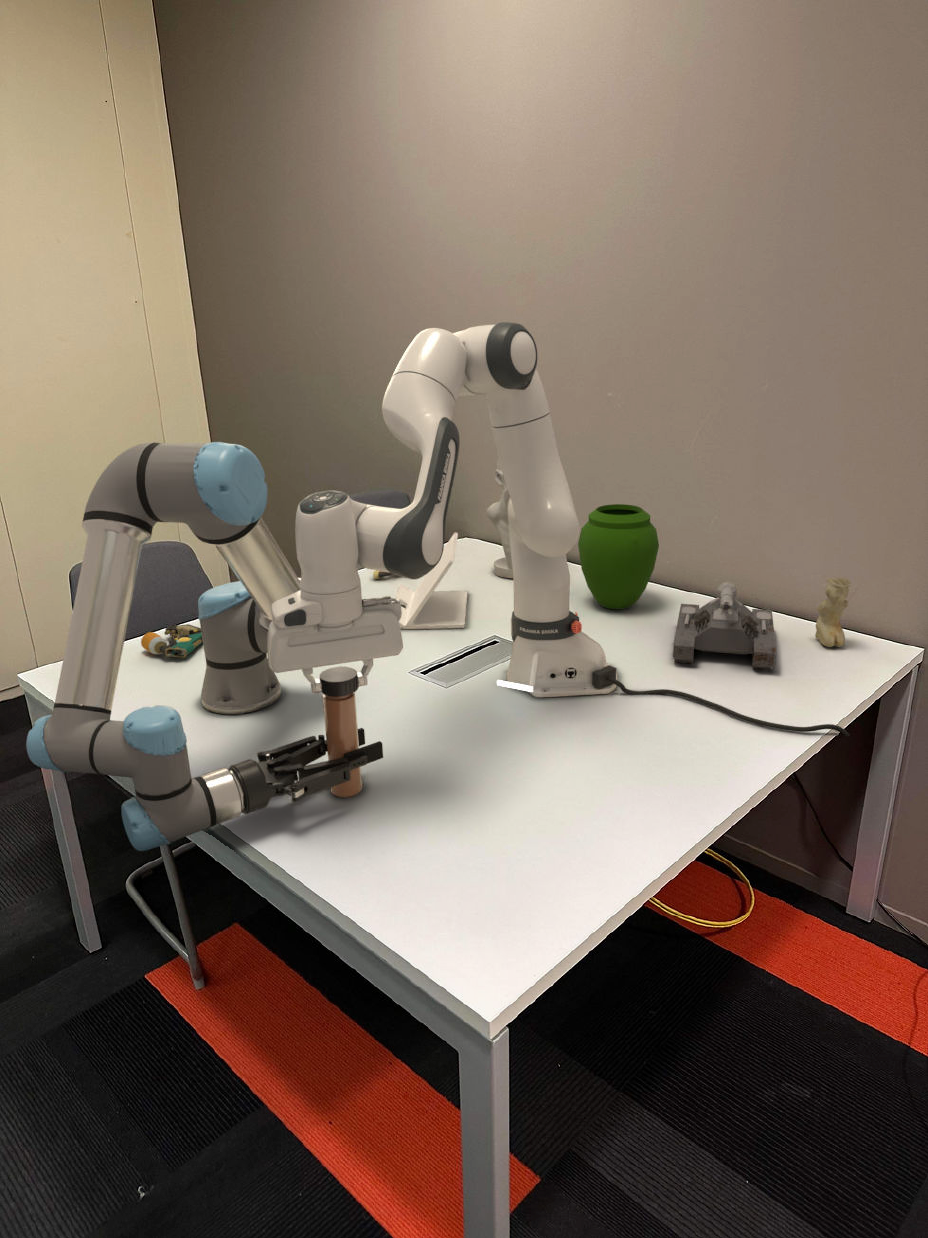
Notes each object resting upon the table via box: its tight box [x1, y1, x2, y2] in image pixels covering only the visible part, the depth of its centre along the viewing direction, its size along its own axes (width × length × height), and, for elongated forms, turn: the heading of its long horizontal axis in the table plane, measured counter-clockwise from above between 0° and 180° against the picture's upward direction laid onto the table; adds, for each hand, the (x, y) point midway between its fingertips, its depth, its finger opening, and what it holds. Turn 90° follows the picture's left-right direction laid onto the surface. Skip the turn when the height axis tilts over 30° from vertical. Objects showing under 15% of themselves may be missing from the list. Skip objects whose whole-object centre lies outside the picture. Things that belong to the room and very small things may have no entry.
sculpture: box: [814, 576, 852, 648], centre depth 185 cm, size 6×7×15 cm
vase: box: [577, 503, 660, 610], centre depth 210 cm, size 20×20×24 cm
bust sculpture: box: [485, 458, 513, 579], centre depth 231 cm, size 16×24×35 cm
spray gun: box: [140, 623, 203, 658], centre depth 196 cm, size 4×17×15 cm
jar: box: [322, 692, 363, 798], centre depth 134 cm, size 5×5×19 cm
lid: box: [319, 666, 360, 697], centre depth 130 cm, size 6×6×2 cm
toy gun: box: [372, 570, 396, 580], centre depth 246 cm, size 3×19×10 cm
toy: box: [672, 581, 777, 670], centre depth 184 cm, size 25×20×15 cm
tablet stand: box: [394, 531, 468, 630], centre depth 211 cm, size 18×25×17 cm
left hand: (372, 742), depth 138 cm, fingers closed on jar, 5 cm apart
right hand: (339, 688), depth 131 cm, fingers closed on lid, 5 cm apart
